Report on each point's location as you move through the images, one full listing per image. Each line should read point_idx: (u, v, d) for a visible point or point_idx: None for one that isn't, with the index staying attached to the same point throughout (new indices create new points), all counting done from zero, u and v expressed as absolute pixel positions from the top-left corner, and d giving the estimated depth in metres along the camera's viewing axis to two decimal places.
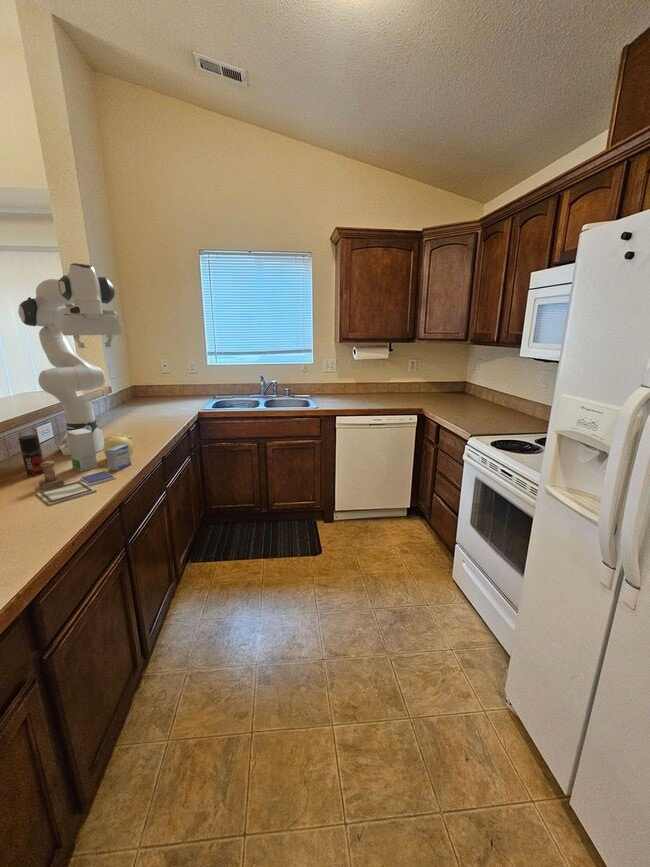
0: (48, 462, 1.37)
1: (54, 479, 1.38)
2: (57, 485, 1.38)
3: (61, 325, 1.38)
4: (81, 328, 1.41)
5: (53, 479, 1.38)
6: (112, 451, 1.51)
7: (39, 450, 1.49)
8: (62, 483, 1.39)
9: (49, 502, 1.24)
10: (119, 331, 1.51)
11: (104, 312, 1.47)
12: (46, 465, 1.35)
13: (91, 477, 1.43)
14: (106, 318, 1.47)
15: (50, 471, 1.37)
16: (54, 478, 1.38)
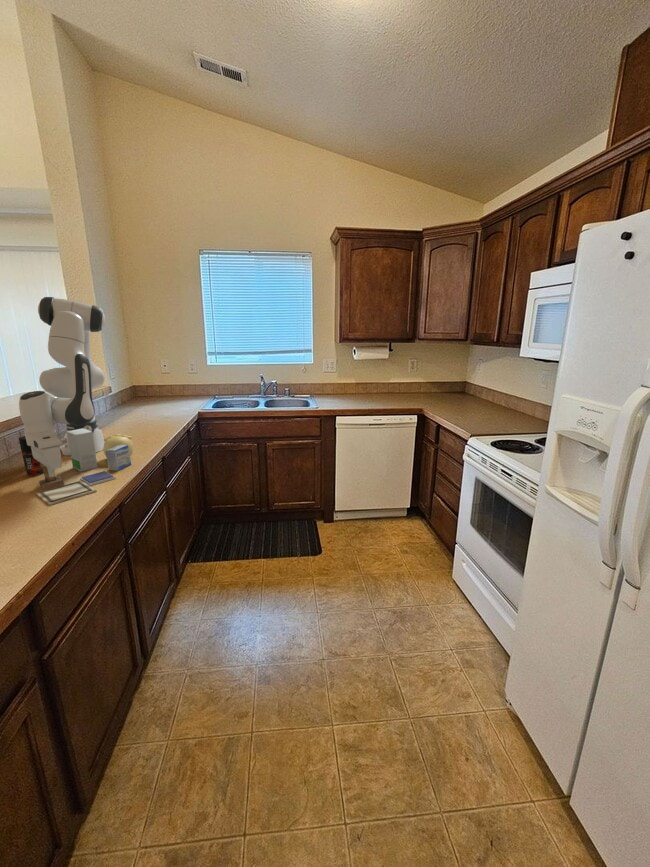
0: None
1: (54, 479, 1.38)
2: (57, 485, 1.38)
3: (52, 459, 1.29)
4: None
5: (53, 479, 1.38)
6: (112, 451, 1.51)
7: None
8: (62, 483, 1.39)
9: (49, 502, 1.24)
10: None
11: None
12: None
13: (91, 477, 1.43)
14: None
15: None
16: (54, 478, 1.38)
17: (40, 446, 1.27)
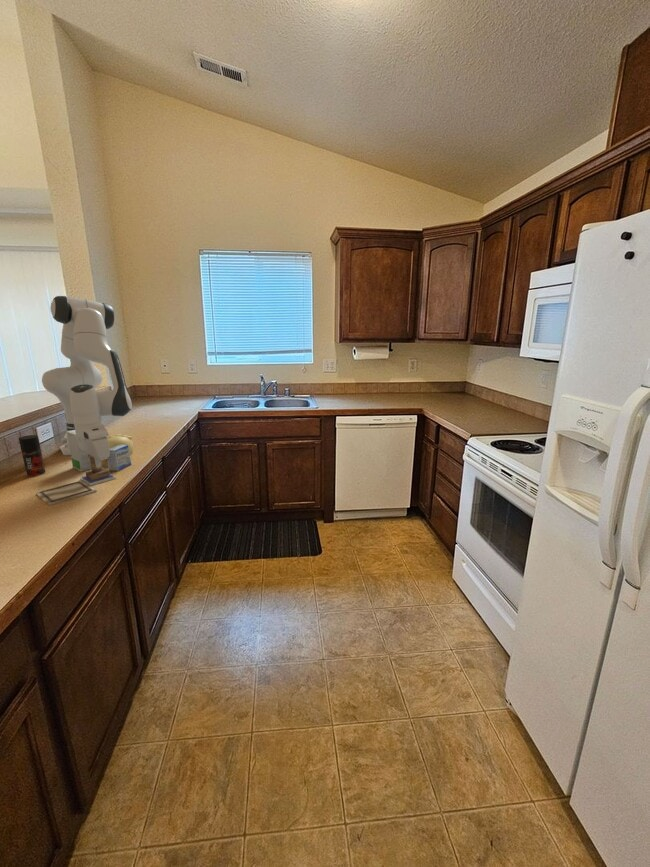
0: None
1: (100, 469, 1.43)
2: (103, 475, 1.43)
3: (101, 450, 1.34)
4: None
5: (99, 469, 1.43)
6: (112, 451, 1.51)
7: (39, 450, 1.49)
8: (108, 473, 1.44)
9: (49, 502, 1.24)
10: None
11: None
12: None
13: None
14: None
15: None
16: (100, 469, 1.43)
17: (90, 437, 1.32)
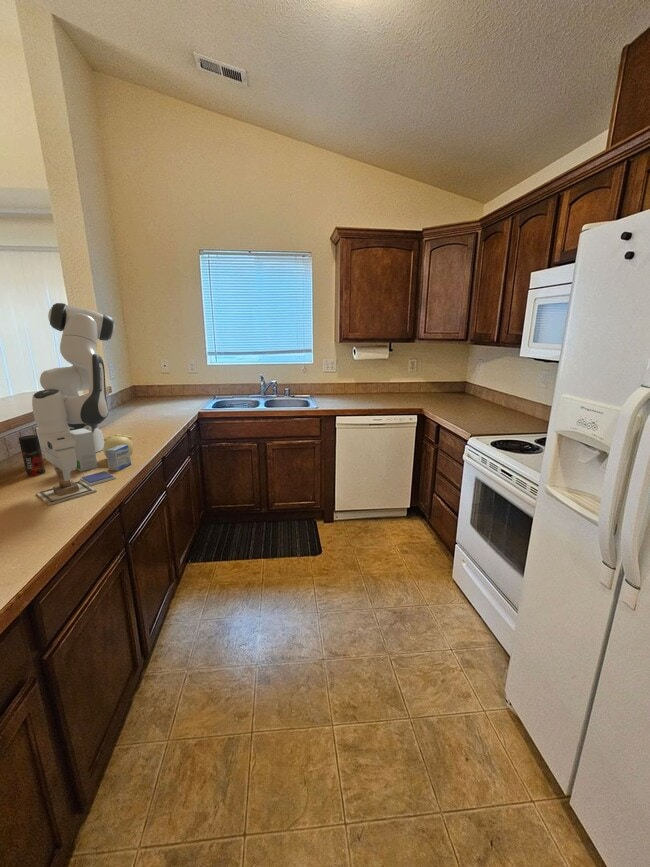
0: None
1: (69, 484, 1.31)
2: (72, 491, 1.31)
3: (67, 461, 1.22)
4: None
5: (68, 484, 1.31)
6: (112, 451, 1.51)
7: (39, 450, 1.49)
8: (77, 489, 1.32)
9: (49, 502, 1.24)
10: None
11: None
12: (61, 470, 1.28)
13: (91, 477, 1.43)
14: None
15: None
16: (69, 483, 1.31)
17: (54, 447, 1.20)
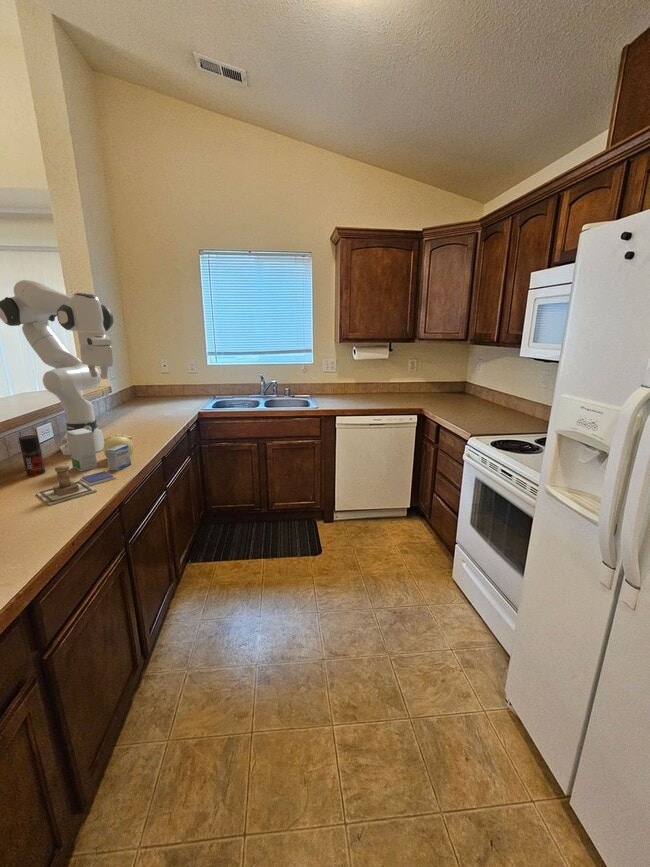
0: (63, 467, 1.30)
1: (69, 484, 1.31)
2: (72, 491, 1.31)
3: (105, 356, 1.35)
4: None
5: (68, 484, 1.31)
6: (112, 451, 1.51)
7: (39, 450, 1.49)
8: (77, 489, 1.32)
9: (49, 502, 1.24)
10: None
11: None
12: (61, 470, 1.28)
13: (91, 477, 1.43)
14: None
15: (65, 476, 1.30)
16: (69, 483, 1.31)
17: (94, 342, 1.33)
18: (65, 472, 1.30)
